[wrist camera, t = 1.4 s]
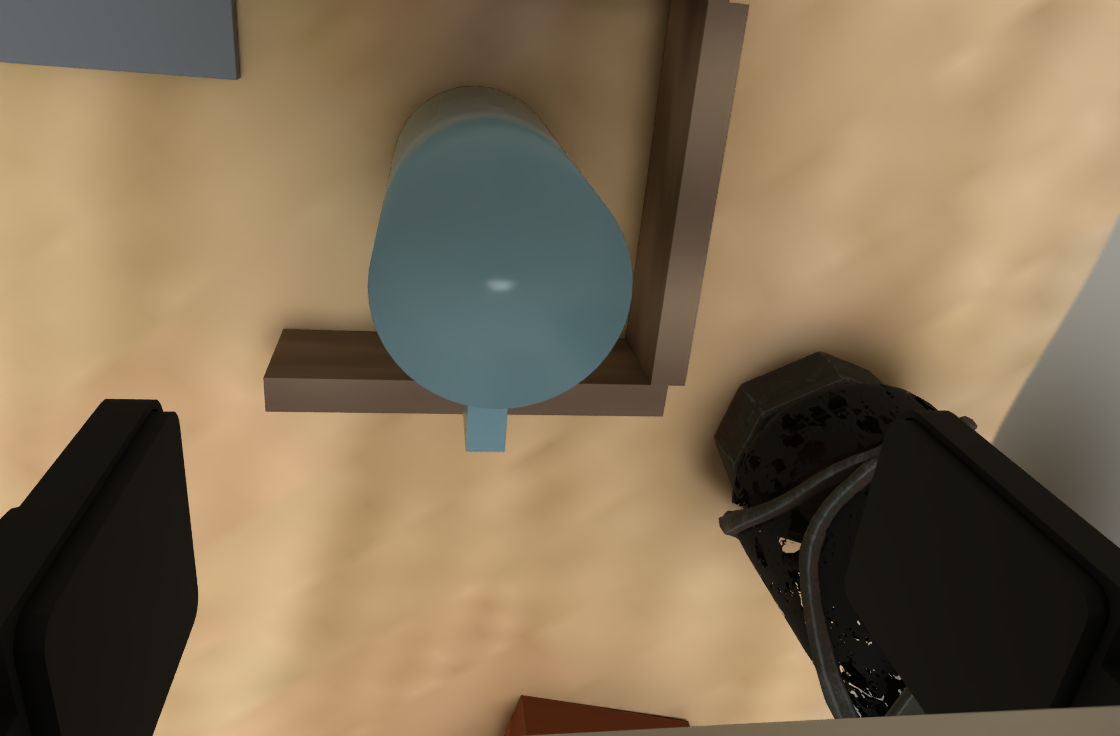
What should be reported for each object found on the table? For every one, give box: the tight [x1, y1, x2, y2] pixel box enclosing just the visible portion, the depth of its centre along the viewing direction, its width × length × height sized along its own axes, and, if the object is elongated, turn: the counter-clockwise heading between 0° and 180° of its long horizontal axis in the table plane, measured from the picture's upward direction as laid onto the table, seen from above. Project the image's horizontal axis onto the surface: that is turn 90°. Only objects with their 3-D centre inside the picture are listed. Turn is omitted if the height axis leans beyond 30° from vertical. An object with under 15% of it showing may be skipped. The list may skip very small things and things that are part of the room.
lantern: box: [714, 352, 977, 719], centre depth 22 cm, size 10×9×28 cm
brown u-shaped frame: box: [263, 0, 749, 416], centre depth 27 cm, size 14×14×4 cm
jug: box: [368, 86, 633, 452], centre depth 23 cm, size 8×6×12 cm
